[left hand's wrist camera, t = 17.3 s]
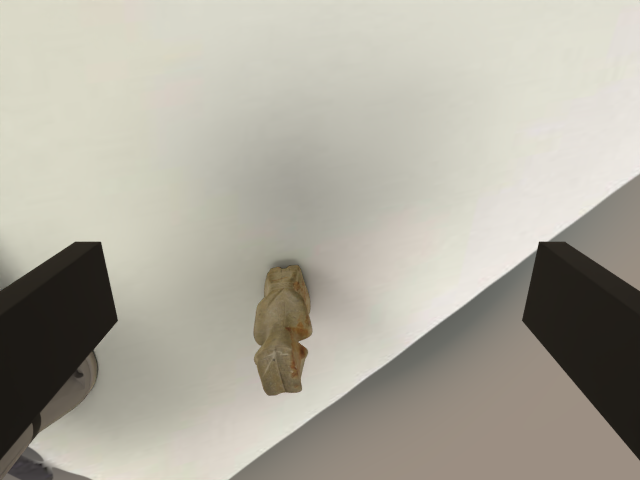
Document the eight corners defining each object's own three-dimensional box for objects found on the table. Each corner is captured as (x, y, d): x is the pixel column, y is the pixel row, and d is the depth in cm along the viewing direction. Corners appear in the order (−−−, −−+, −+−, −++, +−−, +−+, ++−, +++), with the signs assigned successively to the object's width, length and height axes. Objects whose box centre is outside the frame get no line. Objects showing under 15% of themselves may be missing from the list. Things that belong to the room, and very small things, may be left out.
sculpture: (268, 313, 50) (248, 404, 36) (260, 260, 47) (235, 336, 33) (316, 310, 49) (314, 400, 35) (310, 256, 47) (306, 331, 33)
